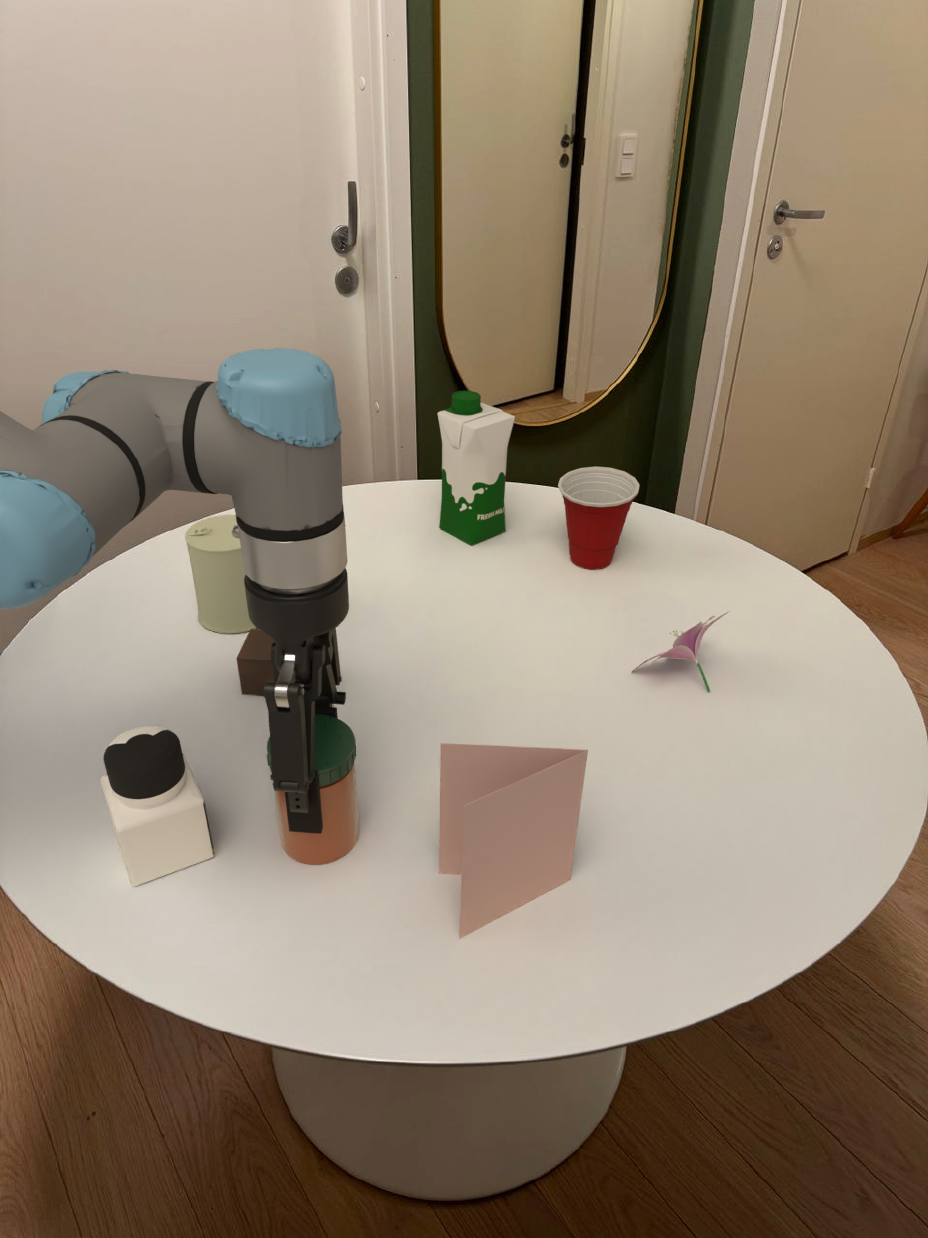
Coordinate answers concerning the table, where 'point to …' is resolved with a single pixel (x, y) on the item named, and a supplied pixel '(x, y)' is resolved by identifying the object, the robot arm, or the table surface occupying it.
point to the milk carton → (473, 467)
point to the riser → (255, 663)
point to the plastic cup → (596, 512)
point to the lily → (687, 645)
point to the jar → (324, 824)
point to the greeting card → (507, 824)
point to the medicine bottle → (154, 804)
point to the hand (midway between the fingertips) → (316, 795)
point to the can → (218, 575)
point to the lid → (330, 749)
